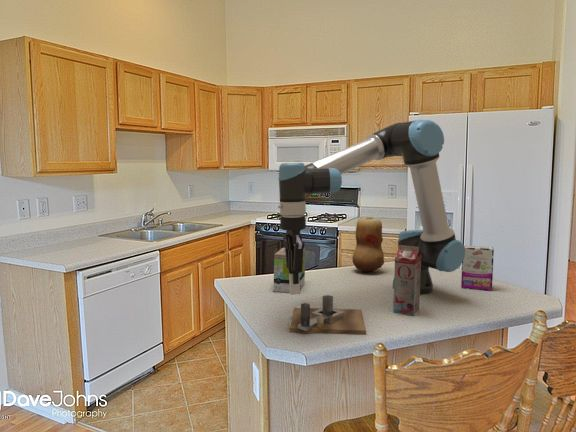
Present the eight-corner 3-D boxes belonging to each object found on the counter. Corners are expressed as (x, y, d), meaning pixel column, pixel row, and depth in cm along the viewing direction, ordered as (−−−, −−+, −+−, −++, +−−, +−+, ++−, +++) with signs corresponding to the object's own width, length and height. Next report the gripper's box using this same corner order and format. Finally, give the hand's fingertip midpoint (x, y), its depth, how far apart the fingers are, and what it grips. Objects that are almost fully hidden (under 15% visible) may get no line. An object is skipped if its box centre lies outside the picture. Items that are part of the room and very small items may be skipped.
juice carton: (413, 316, 139) (416, 248, 136) (393, 312, 142) (395, 246, 139) (419, 310, 144) (421, 245, 142) (399, 306, 148) (401, 243, 145)
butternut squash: (354, 275, 189) (355, 219, 186) (350, 268, 202) (351, 215, 199) (386, 275, 189) (388, 218, 186) (380, 268, 202) (381, 215, 199)
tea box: (298, 293, 163) (298, 255, 162) (273, 292, 165) (272, 254, 164) (305, 282, 178) (305, 247, 176) (281, 281, 180) (281, 246, 178)
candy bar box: (491, 287, 170) (493, 246, 168) (492, 291, 165) (494, 249, 163) (460, 284, 174) (462, 244, 172) (460, 288, 170) (462, 247, 168)
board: (361, 313, 142) (361, 289, 141) (366, 334, 124) (366, 307, 123) (294, 311, 144) (294, 287, 143) (289, 332, 126) (289, 305, 125)
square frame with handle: (325, 312, 139) (325, 291, 138) (343, 317, 134) (344, 295, 133) (292, 326, 126) (292, 303, 126) (311, 332, 122) (311, 308, 121)
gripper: (274, 213, 132) (276, 288, 135) (287, 219, 120) (289, 301, 123) (297, 212, 134) (299, 286, 137) (312, 217, 122) (314, 298, 125)
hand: (294, 293), depth 130 cm, fingers closed
